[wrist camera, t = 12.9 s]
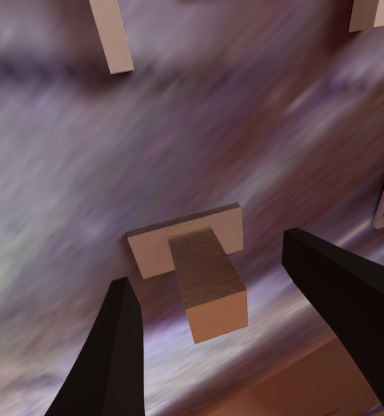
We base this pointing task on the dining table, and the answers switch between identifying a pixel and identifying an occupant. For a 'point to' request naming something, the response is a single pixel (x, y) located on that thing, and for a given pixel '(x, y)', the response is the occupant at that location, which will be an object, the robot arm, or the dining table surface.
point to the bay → (119, 50)
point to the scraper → (199, 266)
